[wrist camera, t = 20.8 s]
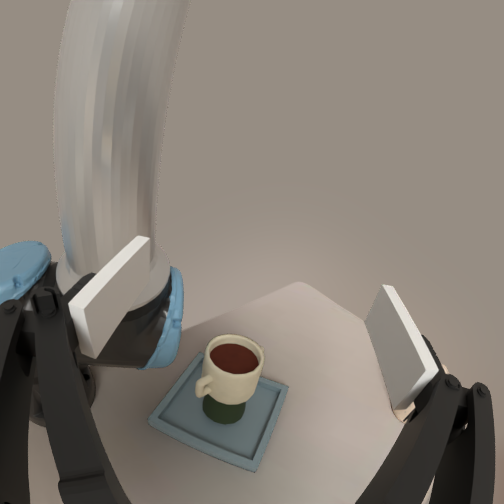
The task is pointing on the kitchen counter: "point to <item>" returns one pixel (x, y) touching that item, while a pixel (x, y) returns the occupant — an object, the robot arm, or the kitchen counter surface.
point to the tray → (215, 434)
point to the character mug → (229, 376)
